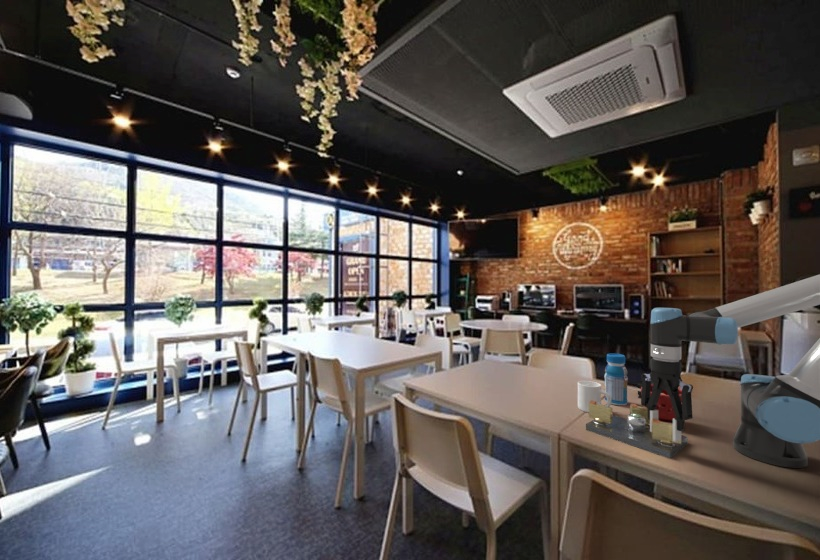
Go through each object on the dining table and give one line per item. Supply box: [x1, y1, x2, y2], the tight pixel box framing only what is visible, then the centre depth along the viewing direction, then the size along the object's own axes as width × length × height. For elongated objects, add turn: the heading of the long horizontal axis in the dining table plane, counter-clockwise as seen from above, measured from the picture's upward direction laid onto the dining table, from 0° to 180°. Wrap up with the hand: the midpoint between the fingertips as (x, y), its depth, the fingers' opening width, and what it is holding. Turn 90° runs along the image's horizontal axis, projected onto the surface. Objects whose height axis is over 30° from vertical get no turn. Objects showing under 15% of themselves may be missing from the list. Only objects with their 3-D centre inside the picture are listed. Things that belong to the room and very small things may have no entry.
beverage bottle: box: [603, 353, 629, 407], centre depth 145 cm, size 8×8×20 cm
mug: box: [577, 380, 612, 413], centre depth 135 cm, size 12×8×10 cm
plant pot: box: [640, 385, 682, 424], centre depth 125 cm, size 13×13×12 cm
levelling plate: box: [585, 413, 689, 459], centre depth 113 cm, size 24×17×7 cm
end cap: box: [637, 380, 654, 399], centre depth 151 cm, size 10×7×7 cm
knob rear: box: [629, 403, 650, 426], centre depth 117 cm, size 7×3×6 cm, turn 72°
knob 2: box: [651, 419, 681, 445], centre depth 104 cm, size 7×3×6 cm, turn 64°
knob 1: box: [588, 401, 613, 424], centre depth 119 cm, size 7×3×6 cm, turn 37°
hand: (665, 435), depth 104 cm, fingers closed on knob 2, 6 cm apart
